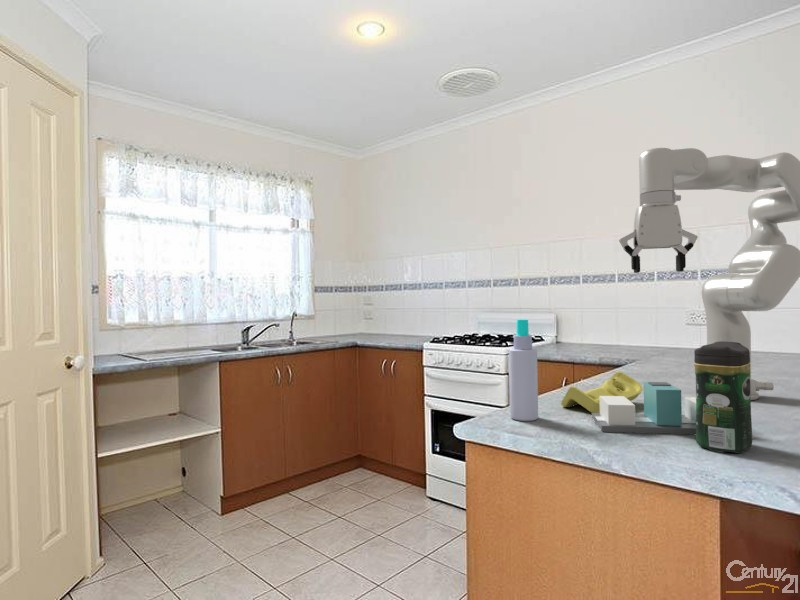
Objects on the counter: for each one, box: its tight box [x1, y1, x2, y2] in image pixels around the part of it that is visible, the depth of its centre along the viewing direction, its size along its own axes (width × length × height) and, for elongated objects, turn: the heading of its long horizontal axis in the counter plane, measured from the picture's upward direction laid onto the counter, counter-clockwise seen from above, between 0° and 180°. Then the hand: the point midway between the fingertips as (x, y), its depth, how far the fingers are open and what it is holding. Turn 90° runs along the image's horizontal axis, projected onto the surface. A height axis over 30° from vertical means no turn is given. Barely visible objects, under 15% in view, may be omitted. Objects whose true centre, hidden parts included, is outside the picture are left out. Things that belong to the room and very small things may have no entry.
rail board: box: [591, 396, 696, 435], centre depth 103 cm, size 25×11×5 cm, turn 79°
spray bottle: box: [508, 318, 539, 422], centre depth 112 cm, size 6×6×22 cm
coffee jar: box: [693, 341, 753, 454], centre depth 89 cm, size 10×8×19 cm
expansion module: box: [643, 381, 683, 426], centre depth 103 cm, size 4×9×7 cm, turn 169°
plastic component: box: [560, 371, 643, 414], centre depth 122 cm, size 20×7×10 cm
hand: (658, 272), depth 122 cm, fingers open, 9 cm apart
